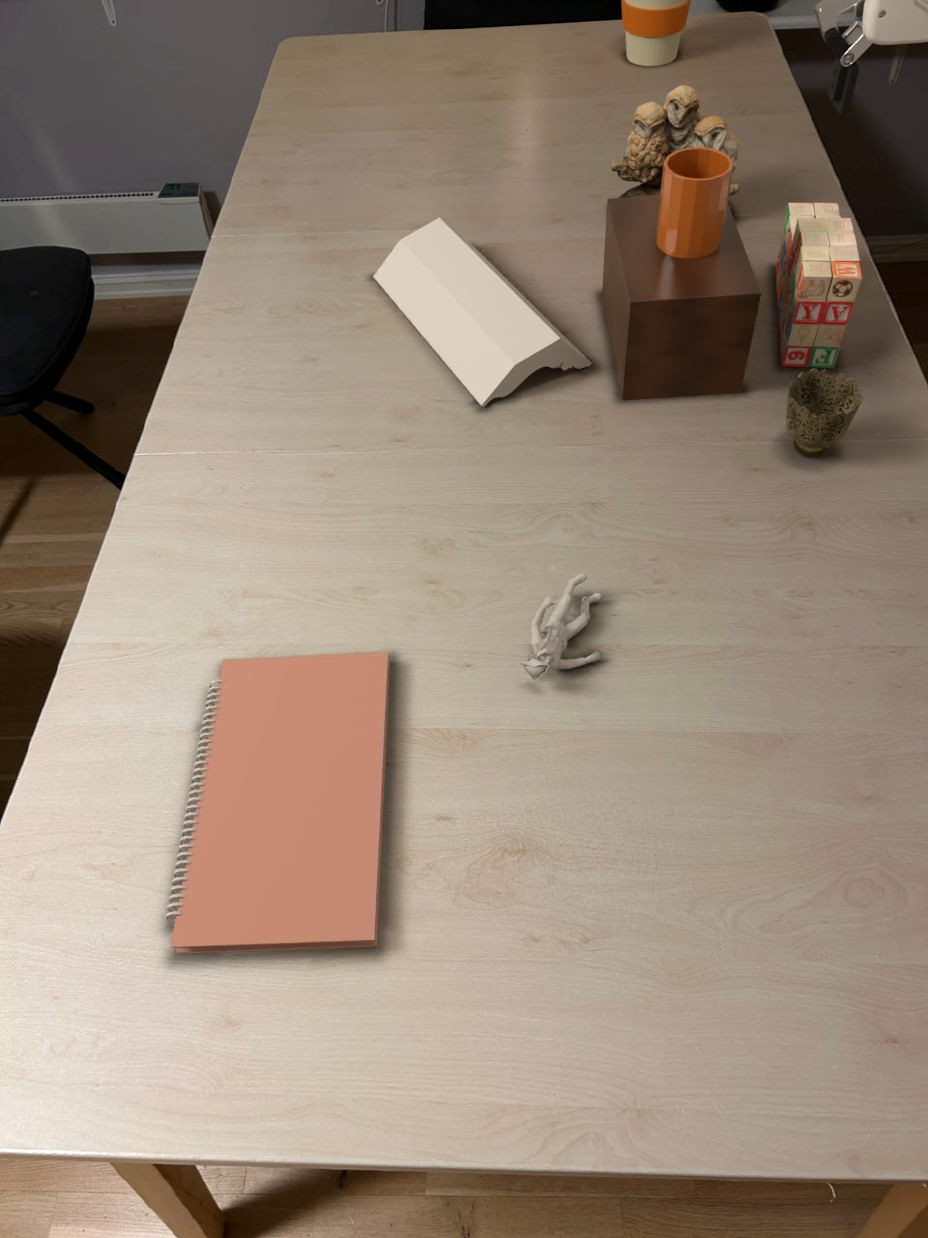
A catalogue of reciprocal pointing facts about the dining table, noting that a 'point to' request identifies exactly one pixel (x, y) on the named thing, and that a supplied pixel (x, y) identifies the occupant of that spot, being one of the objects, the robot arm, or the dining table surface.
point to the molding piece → (471, 313)
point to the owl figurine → (671, 140)
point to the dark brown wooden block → (675, 307)
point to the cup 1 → (693, 202)
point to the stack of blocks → (815, 283)
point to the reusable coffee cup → (653, 29)
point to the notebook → (287, 807)
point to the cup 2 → (820, 410)
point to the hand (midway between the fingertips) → (893, 103)
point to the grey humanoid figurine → (558, 632)
